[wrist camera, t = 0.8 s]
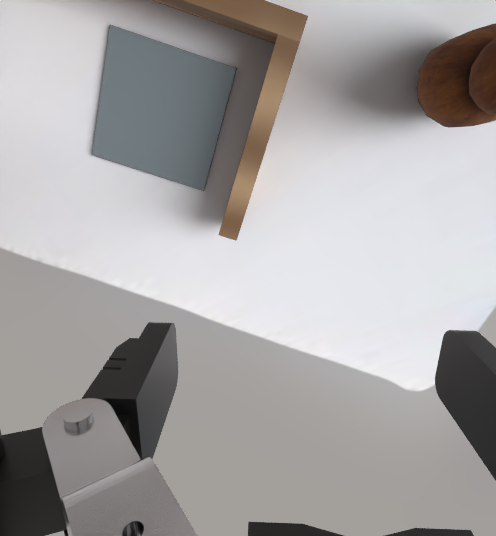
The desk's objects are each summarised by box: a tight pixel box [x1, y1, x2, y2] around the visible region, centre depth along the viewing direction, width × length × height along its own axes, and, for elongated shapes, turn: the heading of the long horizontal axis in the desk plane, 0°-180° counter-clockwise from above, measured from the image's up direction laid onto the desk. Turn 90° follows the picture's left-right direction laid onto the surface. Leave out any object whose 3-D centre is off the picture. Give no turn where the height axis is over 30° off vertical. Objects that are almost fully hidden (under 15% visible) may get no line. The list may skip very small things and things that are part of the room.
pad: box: [92, 25, 236, 191], centre depth 31 cm, size 10×10×1 cm
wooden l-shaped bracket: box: [154, 0, 308, 240], centre depth 29 cm, size 16×30×4 cm, turn 73°
